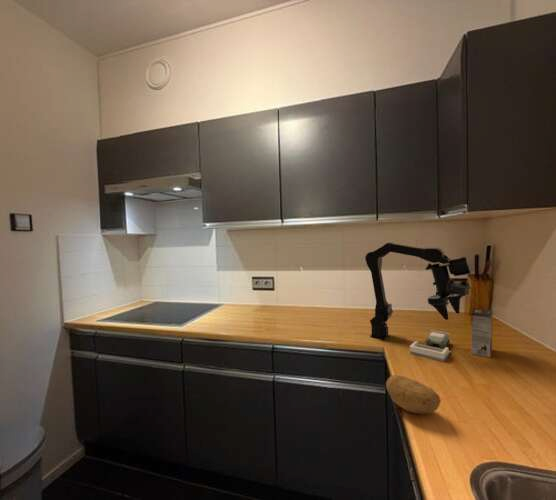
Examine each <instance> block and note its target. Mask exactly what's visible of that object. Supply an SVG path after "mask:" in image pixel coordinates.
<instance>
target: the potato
mask: <svg viewBox="0 0 556 500" xmlns="http://www.w3.org/2000/svg"><path fill="white" fill-rule="evenodd" d="M385 385H386V390H387V393H388V394H389V397H390V398H391V400H392V402H393V403H395V405H397V406H398V407H401V408H402V409H404V410H405V411H407V412H409V413H411V414H412V413H413V414H418V415H419V414H420V415H422V414H423V415H426V414H431V413H432V412H434V411H436V410H438V408H439V406H440V404H441V401H442V400H441V398H440V395H439V394H438V393H436V391H435V390H434V389H433V388H432V387H429V386H427V385H425V384H423V383H421V382H419V381H418V380H415V379H412V378H410V377H407V376H404V375H401V374H393V375H391V376H389V378H388V379H387V380H386V382H385Z"/></svg>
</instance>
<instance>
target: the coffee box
mask: <svg viewBox="0 0 556 500" xmlns="http://www.w3.org/2000/svg"><path fill="white" fill-rule="evenodd" d="M470 314H471V315H470V316H471V319H470V320H471V325H470V326H471V332H470V333H471V334H470V335H471V338H470V341H471V343H470V344H471V345H470V346H471V347H470V349H471V350H470V351H471V352H470V353H471V354H472V355H476V356H482V357H486V358H491V357H492V353H493V352H492V351H493V310H492V309H491V310H490V309H487V308H486V309H484V308H479V307H478V308H477V307H473V309H472V311H471V313H470Z"/></svg>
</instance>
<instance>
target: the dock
mask: <svg viewBox="0 0 556 500" xmlns="http://www.w3.org/2000/svg"><path fill="white" fill-rule="evenodd" d="M451 353H452V351H451V350H449V347H445V348H444V349H442V348H440V347H434V346H432V345H431V346H429V345H427V344H426V345H424V344H420V343H419V341H418V340H415V341H414V342H412V344H411V345H409V354H411V355H415V356H419V357H422V358H427V359H431V360H436V361H438V362H439V361H440V362H443V363H444V362H445V361H446V360H447V358H448V357H449V356H450V355H451Z"/></svg>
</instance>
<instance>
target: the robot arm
mask: <svg viewBox="0 0 556 500" xmlns="http://www.w3.org/2000/svg"><path fill="white" fill-rule="evenodd" d="M390 253H395V254H400V255H404V256H405V255H406V256H411V257H416V258H420V259H422V260H425V261H426V262H429V263H428V264H427V265H426V267H425V270H427V271H428V270H431V274H432V277H433V280H434V281H433V282H432V286H435V288H436V292H435V294H433V295H431V296H429V297H428V298H427V302H428V305H430V306H431V307H433V308H434V309H435V310H436V311H437V312H438V313H439V314H440V315H441V317H443V319H444V320H445V321H447V320H449V314H448V305H449V304H450V305H451V307H452V309H453V311H454V312H455V313H456V314H460V309H461V308H460V307H461V299H462V298H463V297H465V296H466V295H469V291H470V290H471V289H472V288H471V285H470V284H469V281H468V280H467V281H466V280H463V281H461V282H455V280H454V279H453V278H451V276H450V275H452V276H454V277H458V276H460V277H461V276H466V275H471V274H472V270H471V266H470V264H469V262H468V259H467V256H462V257H458V258H454V259H452V258H450V257H448V256H447V254H446V255H445V252H444V251H443V249H441V248H439V247H417V246H416V247H415V246H411V245H406V244H398V243H394V242H386V243H384V244H383V245H382V246H380V247H379V248H377V249H376V250H373V251H369V252H367V253H366V254H365V257H364V258H365V260H364V261H365V264H366V266H367V267H368V269H369V271H370V273H371V278H372V284H373V285H372V286H373V293H374V298H375V308H374V317H372V318H371V319H370V320H369V323H370V326H371V334H370V335H369V338H374V339H378V340H385V339H387V338H388V337H389V327H388V323H387V322H388V321H389V320H390V319H391V317H392V315H393V313H394V310H393V306H392V305H393V304H392V303H389V302H388V301H387V297H386V290H385V286H384V279H383V275H382V274H383V273H382V265H383V258H384V257H385V256H387V255H388V254H390Z"/></svg>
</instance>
